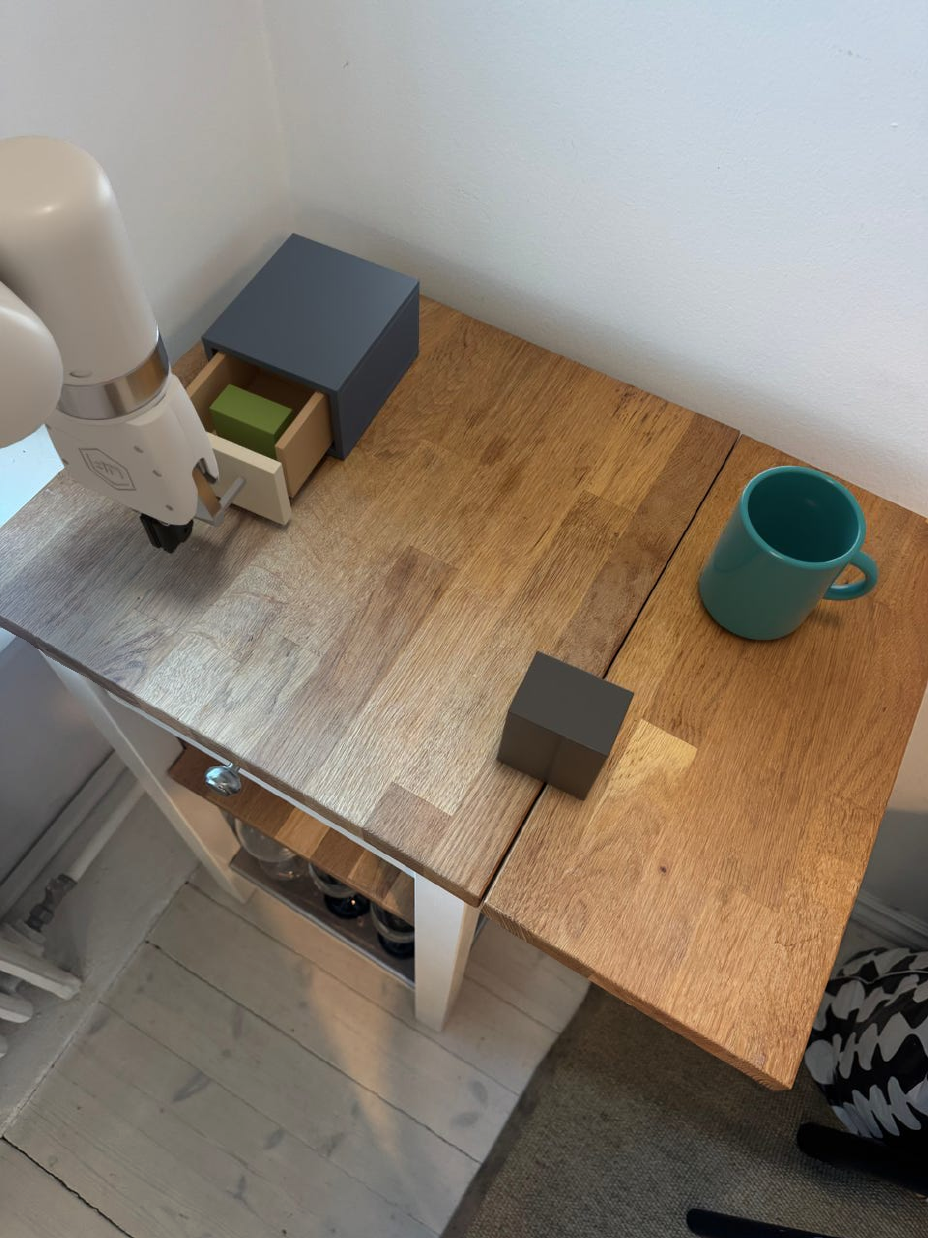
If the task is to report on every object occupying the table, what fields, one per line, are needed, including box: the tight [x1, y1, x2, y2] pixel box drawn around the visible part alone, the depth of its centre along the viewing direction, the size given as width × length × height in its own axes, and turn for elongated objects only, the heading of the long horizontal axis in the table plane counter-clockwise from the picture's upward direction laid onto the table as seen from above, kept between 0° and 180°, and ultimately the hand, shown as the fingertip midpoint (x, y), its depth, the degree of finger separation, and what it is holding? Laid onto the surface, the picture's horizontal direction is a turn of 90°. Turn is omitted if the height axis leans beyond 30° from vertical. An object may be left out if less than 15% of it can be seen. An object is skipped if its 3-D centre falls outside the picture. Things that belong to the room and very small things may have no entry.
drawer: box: [185, 351, 334, 528], centre depth 73 cm, size 18×11×7 cm, turn 155°
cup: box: [698, 465, 880, 641], centre depth 68 cm, size 9×12×11 cm
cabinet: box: [200, 232, 421, 461], centre depth 79 cm, size 15×13×9 cm
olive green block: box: [209, 384, 294, 462], centre depth 74 cm, size 6×3×4 cm, turn 65°
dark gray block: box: [496, 650, 635, 801], centre depth 62 cm, size 7×5×9 cm
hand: (174, 536), depth 69 cm, fingers closed
